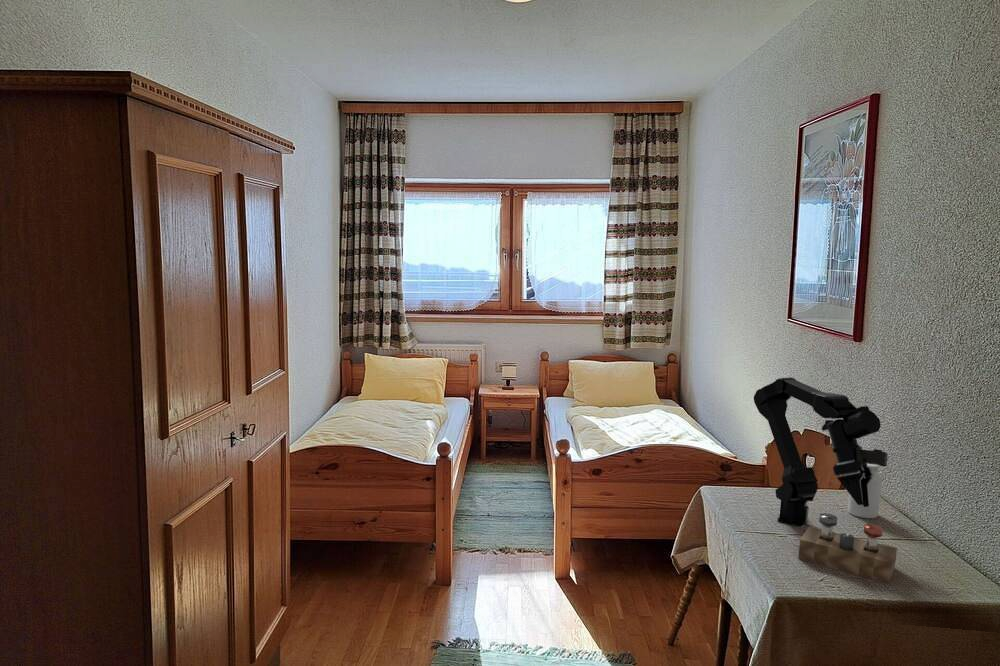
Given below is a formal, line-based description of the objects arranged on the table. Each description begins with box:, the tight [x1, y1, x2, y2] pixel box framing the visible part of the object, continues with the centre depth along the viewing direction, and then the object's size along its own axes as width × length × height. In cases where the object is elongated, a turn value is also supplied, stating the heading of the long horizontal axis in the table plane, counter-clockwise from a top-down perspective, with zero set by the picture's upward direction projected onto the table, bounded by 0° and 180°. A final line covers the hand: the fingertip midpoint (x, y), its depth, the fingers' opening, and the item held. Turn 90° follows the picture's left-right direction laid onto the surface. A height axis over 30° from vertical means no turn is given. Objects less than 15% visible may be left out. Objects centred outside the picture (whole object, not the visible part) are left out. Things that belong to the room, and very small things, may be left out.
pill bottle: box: [847, 463, 883, 519], centre depth 210 cm, size 8×8×15 cm
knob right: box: [863, 523, 884, 553], centre depth 175 cm, size 4×4×7 cm
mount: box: [797, 526, 898, 584], centre depth 179 cm, size 20×10×5 cm, turn 56°
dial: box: [839, 532, 855, 551], centre depth 176 cm, size 3×3×3 cm
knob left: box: [818, 512, 838, 542], centre depth 181 cm, size 4×4×7 cm
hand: (863, 505), depth 180 cm, fingers open, 9 cm apart
